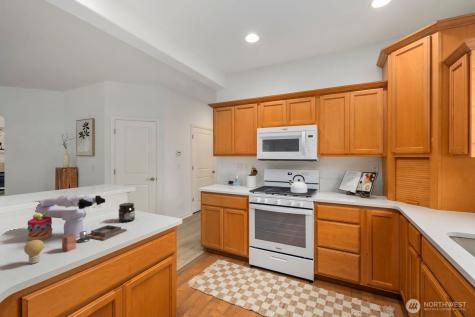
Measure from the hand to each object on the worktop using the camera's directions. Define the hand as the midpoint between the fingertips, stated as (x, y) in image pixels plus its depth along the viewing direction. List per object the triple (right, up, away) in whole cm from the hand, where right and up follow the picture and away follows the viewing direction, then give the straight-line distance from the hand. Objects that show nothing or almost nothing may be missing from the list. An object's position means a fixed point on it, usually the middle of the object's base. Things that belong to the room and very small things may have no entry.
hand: (98, 202), depth 121 cm
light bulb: (-13, -22, -24) cm, 36 cm away
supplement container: (-2, -21, +35) cm, 41 cm away
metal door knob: (-8, -21, -1) cm, 23 cm away
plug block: (-8, -22, -11) cm, 26 cm away
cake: (-35, -21, +3) cm, 42 cm away
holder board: (-1, -21, +10) cm, 23 cm away
